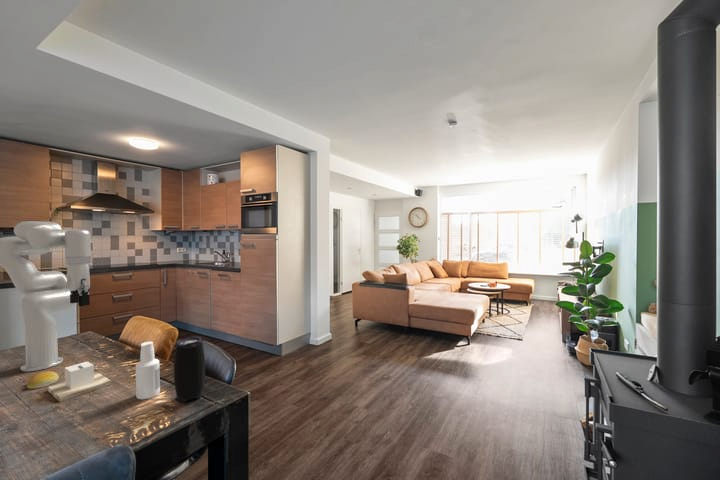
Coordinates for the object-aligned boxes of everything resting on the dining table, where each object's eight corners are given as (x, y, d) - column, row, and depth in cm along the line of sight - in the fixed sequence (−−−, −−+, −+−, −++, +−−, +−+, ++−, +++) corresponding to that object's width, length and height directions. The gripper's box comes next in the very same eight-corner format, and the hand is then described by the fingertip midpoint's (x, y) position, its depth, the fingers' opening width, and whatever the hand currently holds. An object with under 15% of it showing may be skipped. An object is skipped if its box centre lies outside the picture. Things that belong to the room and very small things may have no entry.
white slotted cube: (65, 384, 111) (64, 367, 111) (87, 377, 117) (87, 360, 117) (71, 389, 108) (70, 371, 108) (94, 382, 113) (93, 364, 113)
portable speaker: (168, 402, 102) (167, 343, 101) (191, 388, 111) (190, 334, 111) (189, 405, 100) (188, 345, 99) (211, 391, 109) (209, 336, 108)
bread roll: (25, 392, 110) (25, 381, 110) (29, 383, 117) (29, 372, 117) (58, 384, 115) (57, 373, 115) (60, 376, 122) (59, 366, 122)
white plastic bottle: (164, 391, 109) (163, 340, 109) (145, 401, 103) (144, 347, 102) (150, 388, 111) (149, 338, 111) (131, 398, 105) (130, 345, 104)
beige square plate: (47, 390, 110) (47, 374, 110) (97, 375, 122) (96, 360, 122) (59, 402, 103) (59, 384, 103) (111, 384, 114) (110, 368, 114)
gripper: (58, 260, 123) (60, 303, 124) (73, 262, 114) (74, 308, 114) (83, 259, 130) (84, 300, 130) (98, 261, 120) (99, 304, 121)
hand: (79, 304), depth 122 cm, fingers open, 9 cm apart
